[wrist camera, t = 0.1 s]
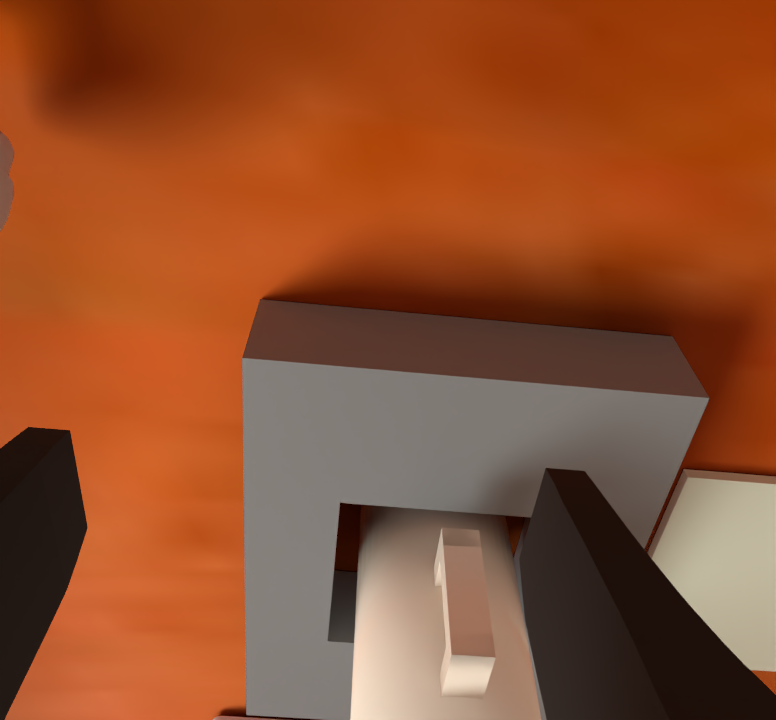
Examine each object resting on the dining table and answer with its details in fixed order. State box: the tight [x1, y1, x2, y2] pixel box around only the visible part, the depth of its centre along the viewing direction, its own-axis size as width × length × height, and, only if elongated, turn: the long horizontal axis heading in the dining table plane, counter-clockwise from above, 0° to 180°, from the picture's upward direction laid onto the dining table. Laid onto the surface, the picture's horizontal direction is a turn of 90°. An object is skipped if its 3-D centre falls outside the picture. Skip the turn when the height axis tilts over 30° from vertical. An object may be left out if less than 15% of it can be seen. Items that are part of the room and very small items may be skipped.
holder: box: [242, 299, 709, 720], centre depth 24 cm, size 16×12×3 cm
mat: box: [647, 469, 776, 672], centre depth 27 cm, size 10×8×1 cm
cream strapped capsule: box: [350, 505, 541, 720], centre depth 22 cm, size 7×5×9 cm
